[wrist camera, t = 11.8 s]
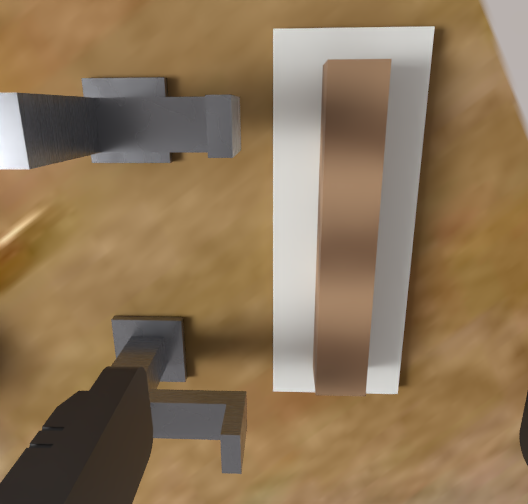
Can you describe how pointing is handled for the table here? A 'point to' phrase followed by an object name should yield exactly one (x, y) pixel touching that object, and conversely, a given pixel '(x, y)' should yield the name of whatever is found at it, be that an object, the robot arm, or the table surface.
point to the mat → (307, 189)
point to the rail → (348, 220)
